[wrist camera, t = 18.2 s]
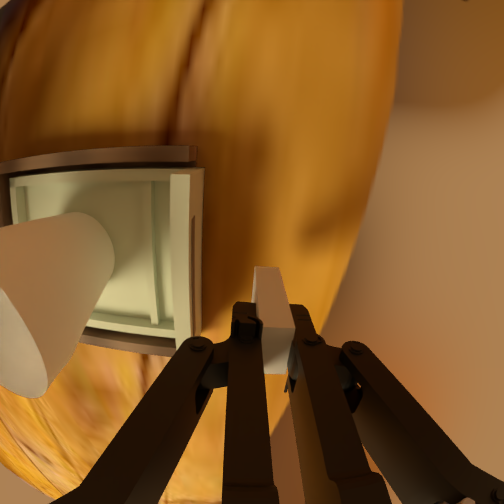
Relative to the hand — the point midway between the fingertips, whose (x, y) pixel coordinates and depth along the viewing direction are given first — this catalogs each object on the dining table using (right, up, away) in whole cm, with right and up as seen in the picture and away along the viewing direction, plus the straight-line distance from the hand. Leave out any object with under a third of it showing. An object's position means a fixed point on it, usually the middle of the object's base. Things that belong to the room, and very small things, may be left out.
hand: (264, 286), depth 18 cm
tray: (-13, +2, +3) cm, 13 cm away
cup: (-15, +2, +2) cm, 15 cm away
